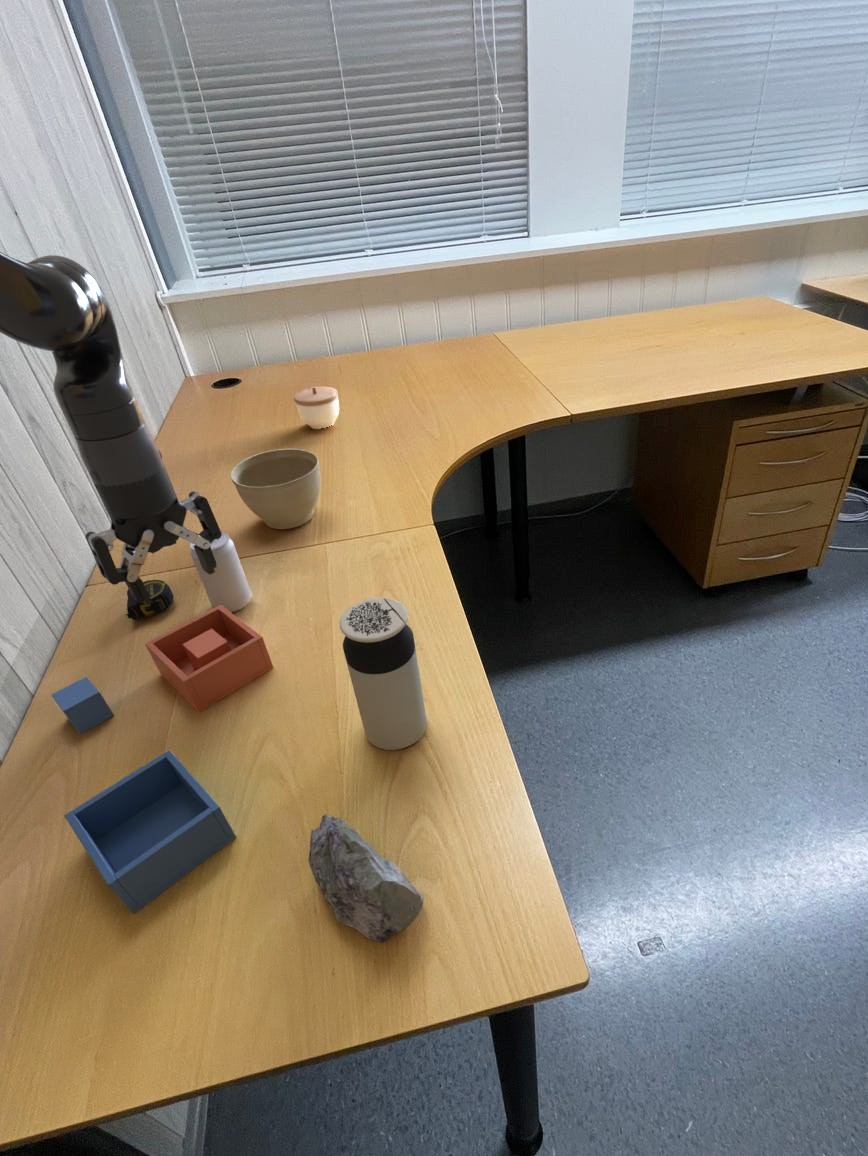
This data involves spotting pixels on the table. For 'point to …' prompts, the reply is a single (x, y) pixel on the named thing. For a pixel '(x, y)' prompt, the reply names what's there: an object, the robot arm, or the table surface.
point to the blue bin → (150, 830)
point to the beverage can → (224, 576)
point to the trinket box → (318, 406)
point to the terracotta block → (206, 648)
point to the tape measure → (159, 597)
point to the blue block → (83, 705)
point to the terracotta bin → (219, 674)
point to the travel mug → (384, 672)
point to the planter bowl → (279, 486)
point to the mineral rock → (361, 882)
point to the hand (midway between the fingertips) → (178, 586)
